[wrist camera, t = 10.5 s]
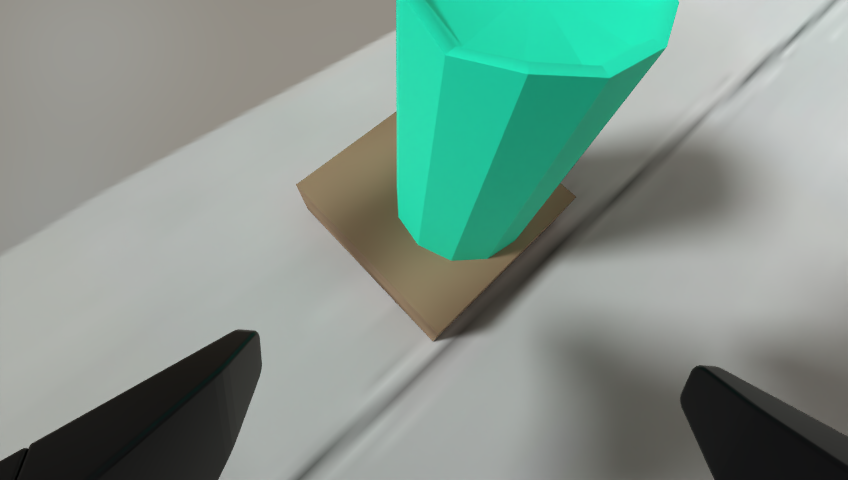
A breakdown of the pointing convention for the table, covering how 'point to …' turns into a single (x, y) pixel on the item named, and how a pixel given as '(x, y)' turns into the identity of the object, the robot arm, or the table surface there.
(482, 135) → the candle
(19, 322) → the table surface
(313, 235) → the table surface
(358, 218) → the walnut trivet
